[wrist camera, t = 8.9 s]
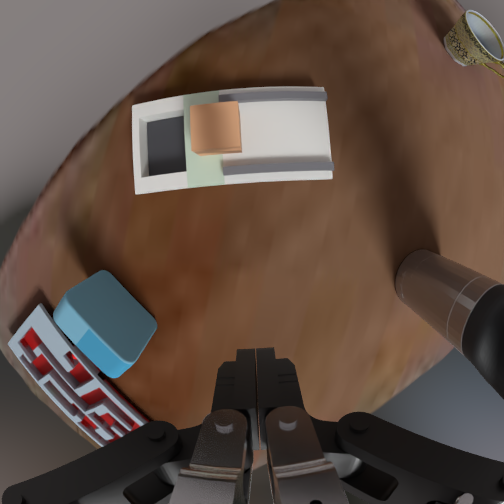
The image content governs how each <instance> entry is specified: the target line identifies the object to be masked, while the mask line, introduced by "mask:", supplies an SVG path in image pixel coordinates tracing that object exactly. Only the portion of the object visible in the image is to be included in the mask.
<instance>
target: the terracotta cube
mask: <svg viewBox="0 0 504 504" xmlns="http://www.w3.org/2000/svg"><path fill="white" fill-rule="evenodd" d="M190 128H191V151H193V152H194V153H196V154H198V155H199V156H206V155H217V154H230V153H242V142H241V124H240V111H239V105H238V101H230V102H219V103H209V104H201V105H193V106H190Z"/></svg>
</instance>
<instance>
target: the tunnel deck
mask: <svg viewBox="0 0 504 504" xmlns="http://www.w3.org/2000/svg"><path fill="white" fill-rule="evenodd" d="M326 100H327V92H324V87H255V88H240V89H228V90H218V91H210V92H202V93H195V94H188V95H182V96H176V97H170V98H165V99H160V100H155V101H150V102H146V103H141V104H137V105H133V106H132V142H133V166H134V181H135V194H145V193H153V192H160V191H168V190H176V189H185V188H194V187H204V186H215V185H226V184H239V183H253V182H269V181H290V180H322V179H332V171H333V170H334V162H331V150H330V138H329V128H328V118H327V109H326ZM230 101H238V105H239V111H240V124H241V142H242V153H230V154H217V155H206V156H199V155H198V154H196V153H194V152H193V151H191V128H190V106H193V105H201V104H209V103H219V102H230ZM152 121H153V122H152ZM147 122H148V123H147Z"/></svg>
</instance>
